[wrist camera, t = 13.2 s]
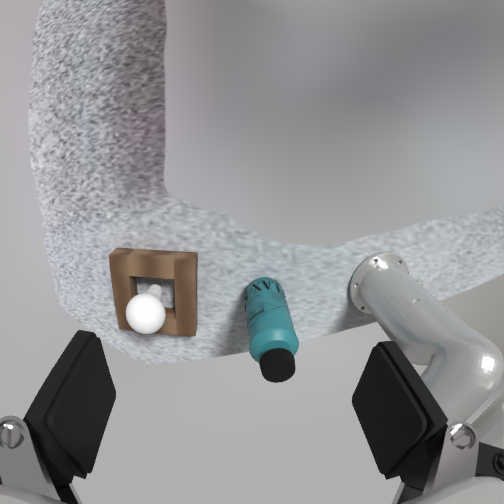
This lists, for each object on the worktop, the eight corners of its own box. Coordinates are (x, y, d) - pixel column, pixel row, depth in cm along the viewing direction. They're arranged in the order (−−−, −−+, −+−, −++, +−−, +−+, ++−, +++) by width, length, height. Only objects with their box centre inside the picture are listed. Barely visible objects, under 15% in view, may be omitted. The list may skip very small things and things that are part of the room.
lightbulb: (171, 306, 49) (159, 346, 39) (139, 299, 48) (120, 336, 38) (176, 276, 47) (163, 312, 37) (141, 269, 46) (120, 302, 36)
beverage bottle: (288, 279, 48) (319, 358, 30) (270, 310, 50) (290, 395, 32) (253, 266, 47) (266, 344, 28) (236, 298, 49) (241, 384, 30)
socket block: (197, 252, 46) (195, 261, 42) (197, 324, 50) (195, 336, 47) (116, 247, 44) (108, 255, 41) (124, 318, 49) (119, 328, 46)
